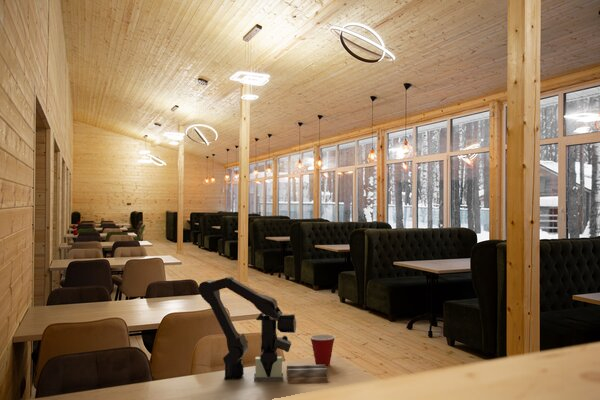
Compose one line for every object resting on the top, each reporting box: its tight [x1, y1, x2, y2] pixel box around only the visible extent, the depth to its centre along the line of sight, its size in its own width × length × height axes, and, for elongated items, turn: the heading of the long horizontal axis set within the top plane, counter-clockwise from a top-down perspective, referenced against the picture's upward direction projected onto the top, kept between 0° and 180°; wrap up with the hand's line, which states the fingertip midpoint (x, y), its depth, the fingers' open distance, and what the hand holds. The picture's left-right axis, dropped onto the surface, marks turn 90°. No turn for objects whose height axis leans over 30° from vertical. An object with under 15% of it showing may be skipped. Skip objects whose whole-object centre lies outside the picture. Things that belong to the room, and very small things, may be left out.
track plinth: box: [285, 364, 329, 384], centre depth 173 cm, size 15×10×4 cm, turn 94°
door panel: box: [254, 356, 283, 377], centre depth 172 cm, size 10×2×8 cm, turn 94°
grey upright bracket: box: [253, 372, 284, 383], centre depth 172 cm, size 11×5×1 cm, turn 94°
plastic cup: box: [309, 334, 336, 367], centre depth 188 cm, size 11×11×12 cm
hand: (268, 373), depth 172 cm, fingers open, 8 cm apart
